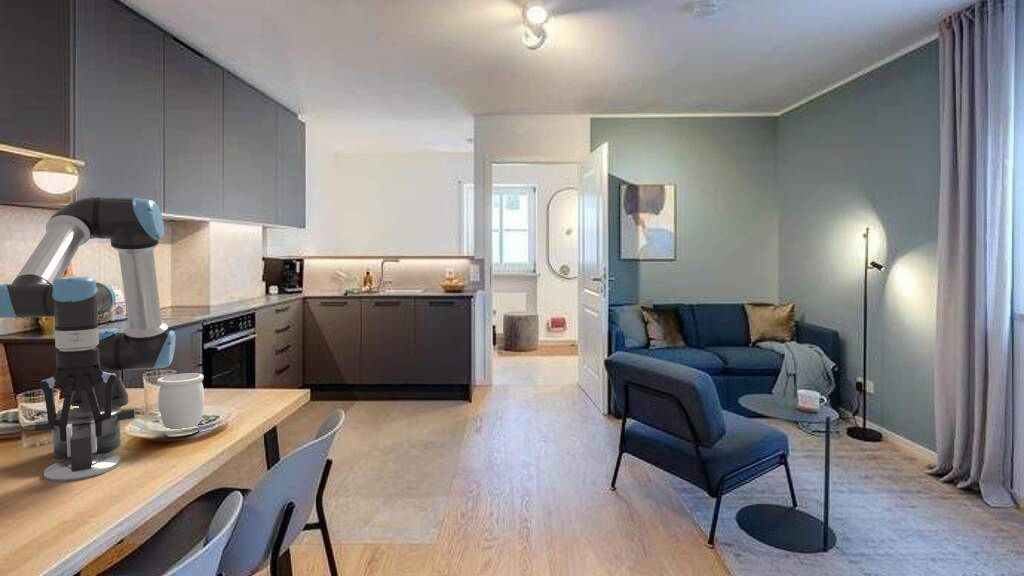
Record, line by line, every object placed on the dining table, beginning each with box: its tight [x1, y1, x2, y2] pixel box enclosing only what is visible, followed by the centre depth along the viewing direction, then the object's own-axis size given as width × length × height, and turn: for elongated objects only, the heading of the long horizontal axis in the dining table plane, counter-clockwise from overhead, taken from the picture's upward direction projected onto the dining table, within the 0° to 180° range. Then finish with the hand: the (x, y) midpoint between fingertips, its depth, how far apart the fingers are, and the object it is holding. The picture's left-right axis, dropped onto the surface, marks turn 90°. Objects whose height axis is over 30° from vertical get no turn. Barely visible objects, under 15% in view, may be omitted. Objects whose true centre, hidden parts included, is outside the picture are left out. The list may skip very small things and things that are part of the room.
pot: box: [34, 405, 135, 460], centre depth 136 cm, size 14×19×9 cm
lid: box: [43, 428, 121, 482], centre depth 124 cm, size 13×13×8 cm
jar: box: [157, 372, 205, 429], centre depth 148 cm, size 11×10×15 cm
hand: (82, 452), depth 124 cm, fingers closed on lid, 3 cm apart
